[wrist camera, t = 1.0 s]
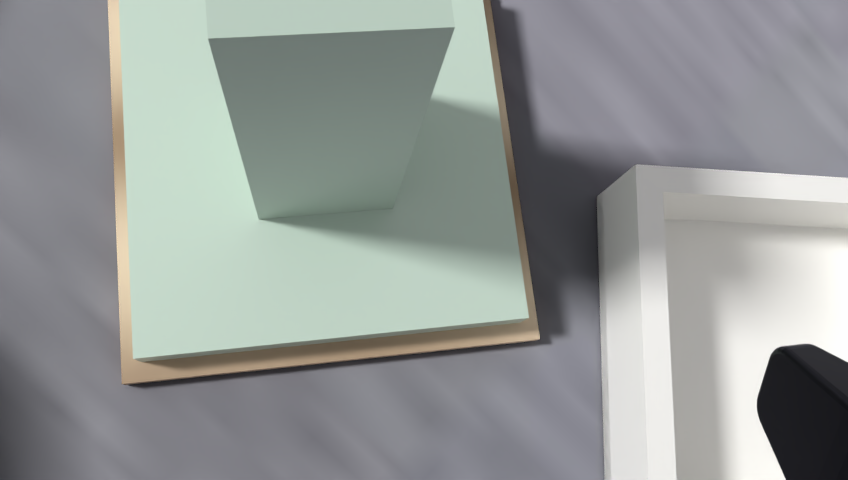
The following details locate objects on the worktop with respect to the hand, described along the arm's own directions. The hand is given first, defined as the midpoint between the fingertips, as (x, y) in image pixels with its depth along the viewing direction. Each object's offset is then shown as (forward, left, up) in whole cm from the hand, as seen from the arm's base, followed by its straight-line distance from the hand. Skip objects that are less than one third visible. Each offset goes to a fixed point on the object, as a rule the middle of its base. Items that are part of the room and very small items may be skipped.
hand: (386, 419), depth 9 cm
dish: (-5, -10, -13) cm, 18 cm away
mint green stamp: (+6, -4, -13) cm, 15 cm away
